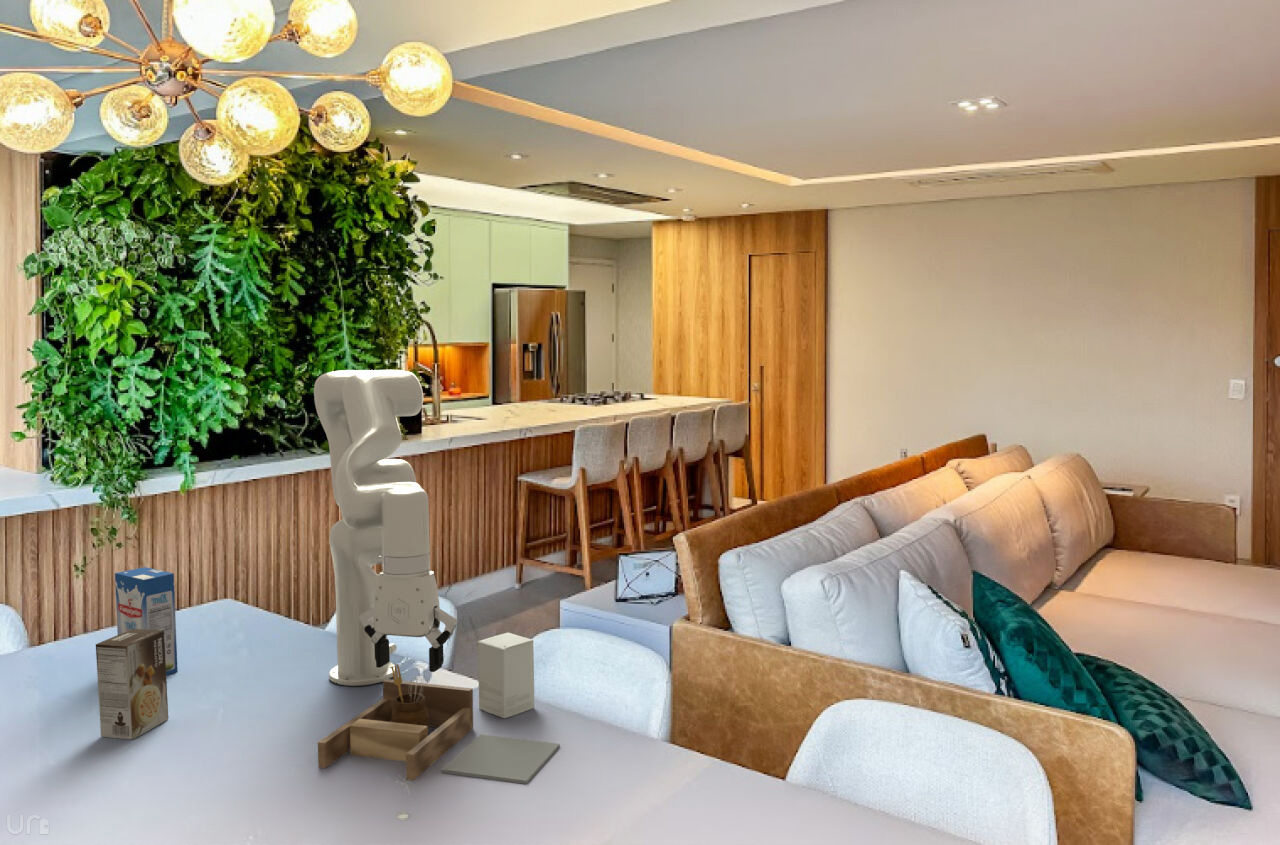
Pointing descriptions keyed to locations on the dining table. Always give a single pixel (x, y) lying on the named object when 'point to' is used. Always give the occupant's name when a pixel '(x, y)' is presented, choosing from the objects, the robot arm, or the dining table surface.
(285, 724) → the dining table surface
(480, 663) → the supplement box
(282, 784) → the dining table surface
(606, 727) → the dining table surface
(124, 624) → the milk carton
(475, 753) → the slate mat
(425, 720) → the utensil holder
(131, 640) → the coffee box
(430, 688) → the walnut u-shaped frame
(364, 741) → the oak offcut block
